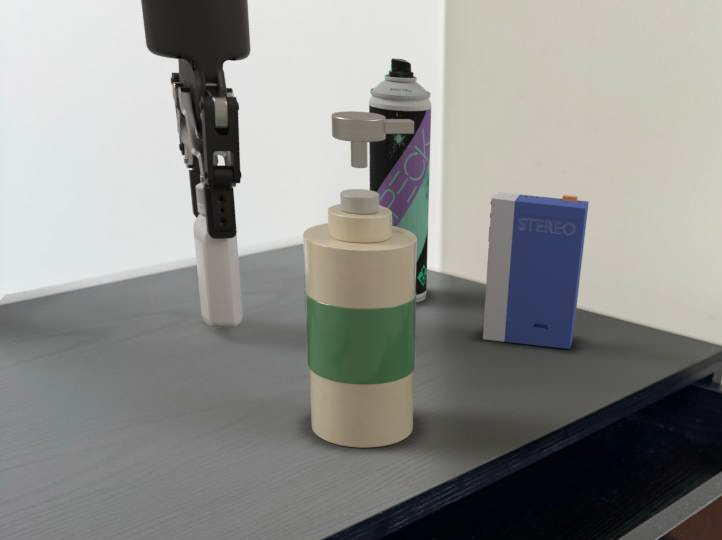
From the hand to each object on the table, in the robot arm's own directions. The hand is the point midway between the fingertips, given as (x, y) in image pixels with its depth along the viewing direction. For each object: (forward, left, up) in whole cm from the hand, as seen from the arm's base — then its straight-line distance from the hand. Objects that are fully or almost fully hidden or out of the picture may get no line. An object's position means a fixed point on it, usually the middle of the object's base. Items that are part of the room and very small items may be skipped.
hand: (214, 226), depth 80 cm
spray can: (+18, +6, -9) cm, 21 cm away
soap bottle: (+5, -23, -8) cm, 25 cm away
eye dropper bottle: (0, 0, -8) cm, 8 cm away
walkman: (+25, -9, -9) cm, 28 cm away
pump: (+6, -23, +9) cm, 25 cm away
